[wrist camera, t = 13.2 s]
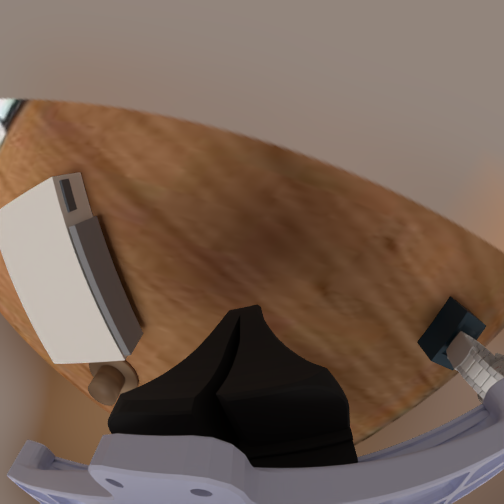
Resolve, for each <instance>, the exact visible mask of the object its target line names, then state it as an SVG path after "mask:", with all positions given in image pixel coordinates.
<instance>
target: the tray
mask: <svg viewBox="0 0 504 504" xmlns="http://www.w3.org/2000/svg"><path fill="white" fill-rule="evenodd" d="M69 230H70V233H71V236H72V239H73V242H74V245H75V247H76V250H77V253H78V256H79V258H80V261H81V264H82V266H83V269H84V271H85V274H86V276H87V279H88V281H89V283H90V286H91V288H92V290H93V293H94V295H95V297H96V300H97V302H98V304H99V306H100V308H101V310H102V313H103V315H104V317H105V319H106V321H107V323H108V325H109V327H110V329H111V331H112V333H113V335H114V337H115V339H116V341H117V343H118V344H119V346H120V348H121V350H122V352H123V354H124V355H131V354H132V352H133V350H134V348H135V347H136V345H137V343H138V342H139V340H140V338H141V336H142V335H143V332H142V329H141V327H140V325H139V323H138V321H137V319H136V317H135V314H134V312H133V310H132V308H131V305H130V303H129V301H128V299H127V296H126V294H125V292H124V289H123V287H122V284H121V282H120V279H119V277H118V274H117V272H116V269H115V267H114V264H113V261H112V259H111V256H110V253H109V251H108V248H107V245H106V242H105V239H104V236H103V233H102V230H101V227H100V224H99V221H98V218H97V216H94V217H92V218H89V219H87V220H85V221H82V222H80V223H78V224H75V225H73V226H71V227H69Z"/></svg>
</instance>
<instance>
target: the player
mask: <svg viewBox="0 0 504 504" xmlns="http://www.w3.org/2000/svg"><path fill="white" fill-rule="evenodd" d="M92 217H93V215H92V212H91V208H90V205H89V202H88V198H87V195H86V191H85V187H84V184H83V180H82V176H81V172H79V173H72V174H65V175H59V176H53V177H51V178H49V179H47V180H45V181H44V182H42V183H40V184H39V185H37V186H35V187H34V188H32V189H30V190H29V191H27V192H25V193H24V194H22V195H21V196H19V197H18V198H16V199H14V200H13V201H11V202H10V203H8V204H7V205H6V206H4V207H3V208H1V209H0V249H1V252H2V255H3V258H4V261H5V264H6V267H7V269H8V272H9V274H10V277H11V279H12V282H13V284H14V287H15V289H16V291H17V294H18V296H19V298H20V300H21V303H22V305H23V307H24V309H25V311H26V313H27V315H28V317H29V319H30V321H31V323H32V325H33V327H34V329H35V331H36V333H37V335H38V337H39V338H40V340H41V342H42V344H43V345H44V347H45V349H46V351H47V352H48V354H49V356H50V357H51V359H52V361H53V362H54V364H64V363H92V362H109V361H123V360H125V359H126V358H127V356H128V355H124V354H123V352H122V350H121V348H120V346H119V344H118V343H117V341H116V339H115V337H114V335H113V333H112V331H111V329H110V327H109V325H108V323H107V321H106V319H105V317H104V315H103V313H102V310H101V308H100V306H99V304H98V302H97V300H96V297H95V295H94V293H93V290H92V288H91V286H90V283H89V281H88V279H87V276H86V274H85V271H84V269H83V266H82V264H81V261H80V258H79V256H78V253H77V250H76V247H75V245H74V242H73V239H72V236H71V233H70V230H69V227H71V226H73V225H75V224H78V223H80V222H82V221H85V220H87V219H89V218H92Z"/></svg>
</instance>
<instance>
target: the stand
mask: <svg viewBox="0 0 504 504" xmlns="http://www.w3.org/2000/svg"><path fill="white" fill-rule="evenodd" d="M89 368H90V371H91V374H92V375H93V377H94V378H93V380H92V381H91V383H90V384H89V386H88V391H89V393H90V395H91V396H92V397H93V398H94V399H95V400H97V401H98V402H100V403H102V404H104V405H113V404H114V403H115V402H116V400H117V398H118V396H119V394H122V393H125V392H127V391H130V390H132V389H135V388H137V386H138V376H137V374H136V372H135V370H134V369H133V367H132V366H131V365H130V364H129V363H128V362H127V361H125V360H123V361H109V362H92V363H89Z"/></svg>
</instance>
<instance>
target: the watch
mask: <svg viewBox="0 0 504 504" xmlns="http://www.w3.org/2000/svg"><path fill="white" fill-rule="evenodd" d="M485 327H486V325H485V324H483V323H482V322H481V321H480V320H479V319H478V318H477V317H476V316H475V315H473V314H472V313H471V312H470V311H469V310H468V309H466V308H465V307H464V306H462V305H461V304H460V303H458V302H457V301H456V300H454V299H453V298H452V297H450V298H449V299H448V301H447V302H446V304H445V305H444V307H443V308H442V309H441V311H440V312H439V314H438V315H437V317H436V318H435V319H434V321H433V322H432V324H431V325H430V326H429V328H428V329H427V330H426V332H425V333H424V334H423V336H422V337H421V338H420V339H419V341H418V342H417V343H418V344H419V345H420V347H421V348H422V349H423V351H424V352H425V353H426V355H427V356H428V357H429V359H430V360H431V361H433V362H435V363H437V364H439V365H442V366H444V367H446V368H449V369H451V370H454V369H455V370H457V371H458V372H459V373H461V375H462V377H463V378H464V379H465V380H466V381H467V382H468V384H469V385H470V386H471V387H472V388H473V389H474V390H475V391H476V392H477V394H478V399H479V401H480V402H481V403H483V400H484V397H485V395H486V393H487V391H488V390H489V388H490V387H491V386H492V385H494V384H495V383H496V382H498V381H499V380H501V379H502V378H504V355H501V354H498V353H496V354H495V356H496V357H495V356H494V355H493V354H492V353H491V352H490V351H489V350H487V349H486V348H485V347H484V346H483V345H482V344H480V343H479V342H478V341H476V340H477V339H478V337H479V336H480V335H481V333H482V332H483V330H484V329H485ZM482 350H483V351H482ZM489 354H490V355H489ZM485 355H486V356H485ZM484 356H485V357H484ZM468 375H469V376H468ZM475 377H476V378H475ZM474 378H475V379H474Z"/></svg>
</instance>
